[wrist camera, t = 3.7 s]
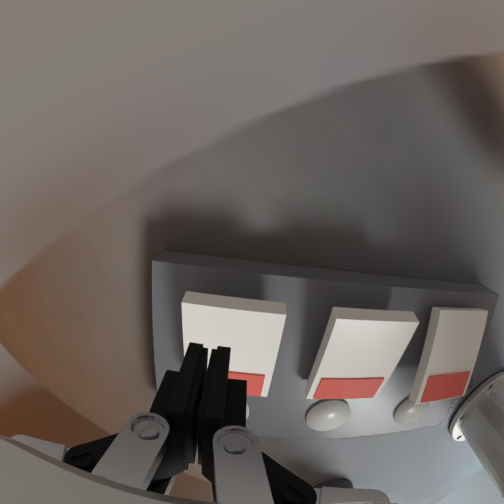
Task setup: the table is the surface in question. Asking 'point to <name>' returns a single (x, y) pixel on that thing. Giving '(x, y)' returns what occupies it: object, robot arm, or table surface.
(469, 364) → the rocker
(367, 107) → the table surface
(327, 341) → the rocker
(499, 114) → the table surface
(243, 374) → the rocker
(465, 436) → the robot arm
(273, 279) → the power strip
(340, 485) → the candle holder
